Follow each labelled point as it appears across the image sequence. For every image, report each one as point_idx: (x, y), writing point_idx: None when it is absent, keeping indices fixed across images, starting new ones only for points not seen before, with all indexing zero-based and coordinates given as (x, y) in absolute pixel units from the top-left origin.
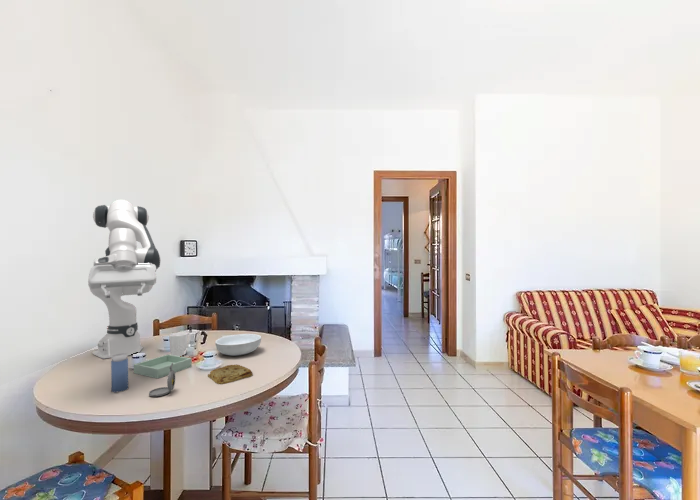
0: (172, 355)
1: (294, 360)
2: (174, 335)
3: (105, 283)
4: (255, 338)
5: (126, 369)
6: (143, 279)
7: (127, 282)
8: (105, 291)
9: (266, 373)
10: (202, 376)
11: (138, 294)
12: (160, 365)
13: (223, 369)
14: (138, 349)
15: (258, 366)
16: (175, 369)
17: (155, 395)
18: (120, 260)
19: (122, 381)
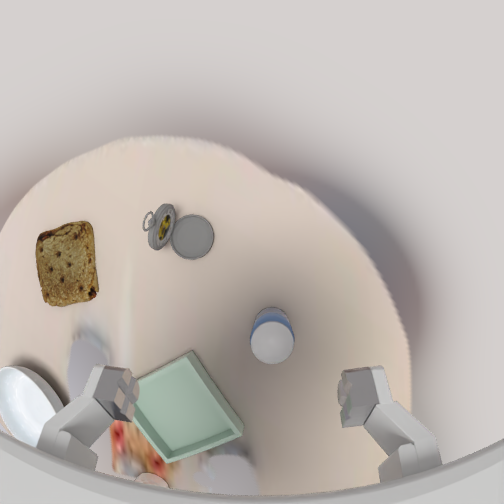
0: (156, 448)
1: None
2: None
3: (411, 475)
4: (7, 413)
5: (255, 322)
6: (29, 461)
7: (177, 490)
8: (388, 399)
9: (24, 234)
10: (107, 298)
11: (126, 372)
12: (186, 431)
13: (67, 276)
14: None
15: (23, 286)
16: (152, 372)
17: (201, 217)
18: None
19: (266, 311)
